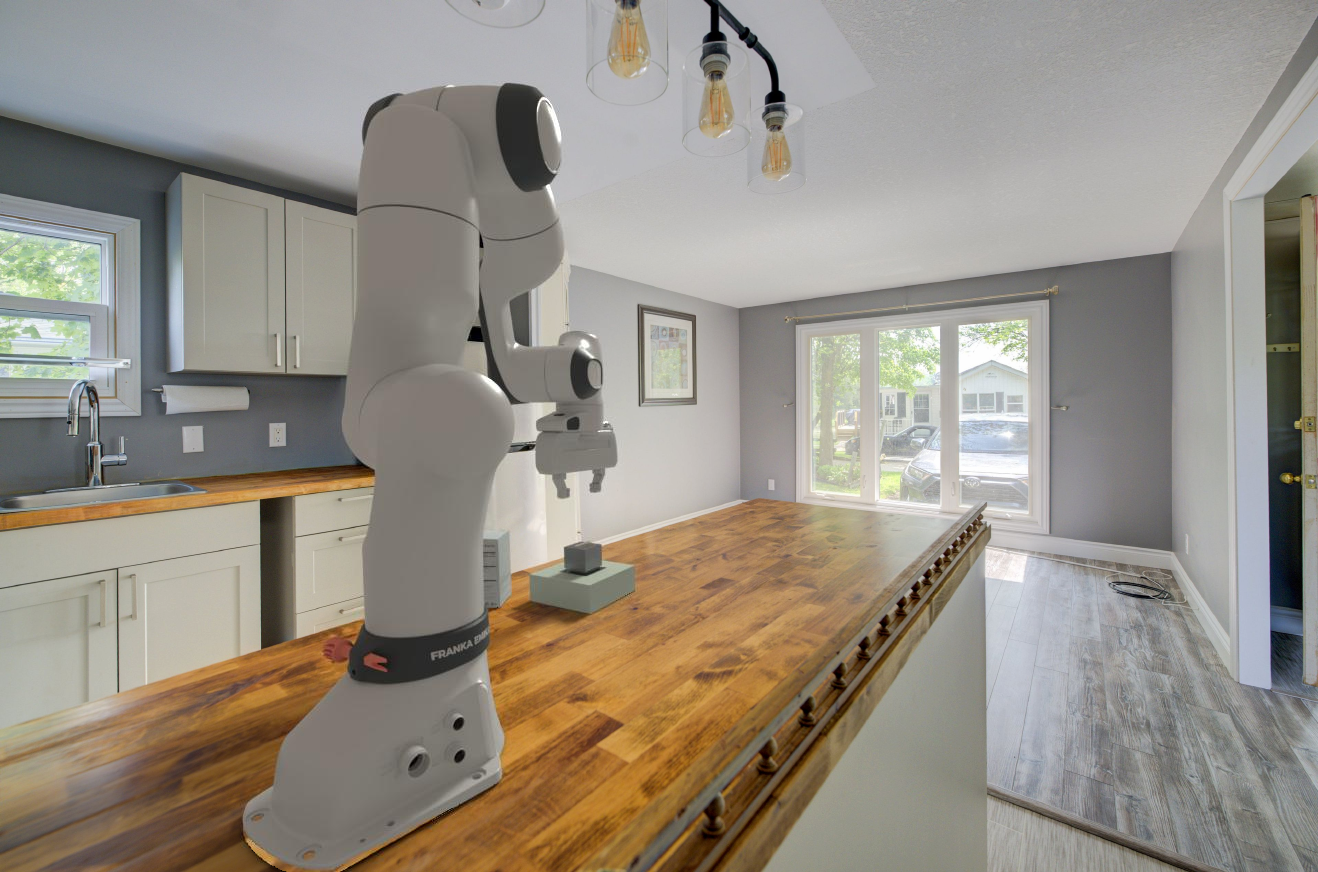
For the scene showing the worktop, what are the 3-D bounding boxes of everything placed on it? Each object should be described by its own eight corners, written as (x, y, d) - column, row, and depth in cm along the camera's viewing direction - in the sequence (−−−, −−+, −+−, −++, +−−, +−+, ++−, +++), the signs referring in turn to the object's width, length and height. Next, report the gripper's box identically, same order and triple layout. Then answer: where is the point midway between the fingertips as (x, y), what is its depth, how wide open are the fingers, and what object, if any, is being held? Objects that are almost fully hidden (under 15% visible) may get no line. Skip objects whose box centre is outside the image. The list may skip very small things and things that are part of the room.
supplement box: (474, 595, 106) (472, 529, 105) (512, 594, 106) (510, 529, 105) (458, 608, 98) (456, 538, 98) (500, 608, 98) (498, 538, 98)
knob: (585, 590, 101) (585, 547, 100) (564, 586, 103) (563, 544, 103) (602, 583, 105) (601, 542, 105) (581, 579, 108) (580, 539, 107)
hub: (590, 614, 95) (589, 585, 94) (530, 600, 102) (529, 574, 102) (635, 590, 107) (634, 565, 106) (578, 580, 114) (577, 556, 114)
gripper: (599, 421, 114) (599, 488, 114) (528, 421, 96) (529, 500, 96) (625, 421, 110) (625, 490, 111) (556, 421, 93) (557, 503, 93)
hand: (580, 495), depth 103 cm, fingers open, 8 cm apart
